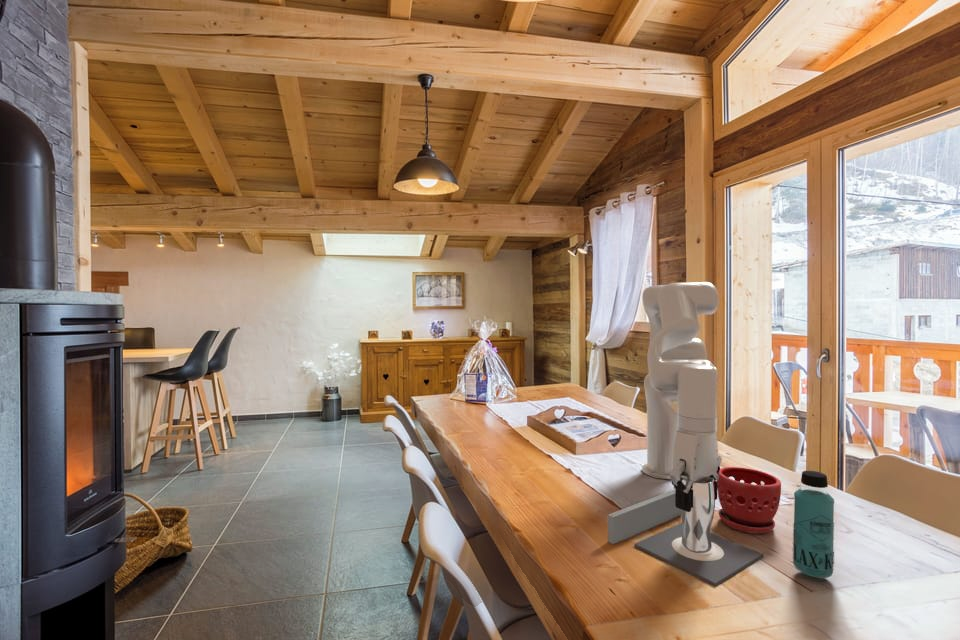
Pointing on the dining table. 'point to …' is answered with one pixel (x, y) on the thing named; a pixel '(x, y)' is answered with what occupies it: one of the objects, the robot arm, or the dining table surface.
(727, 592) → the dining table surface
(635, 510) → the low wall
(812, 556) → the beverage bottle
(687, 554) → the dark gray mat
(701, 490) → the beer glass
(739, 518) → the plant pot
